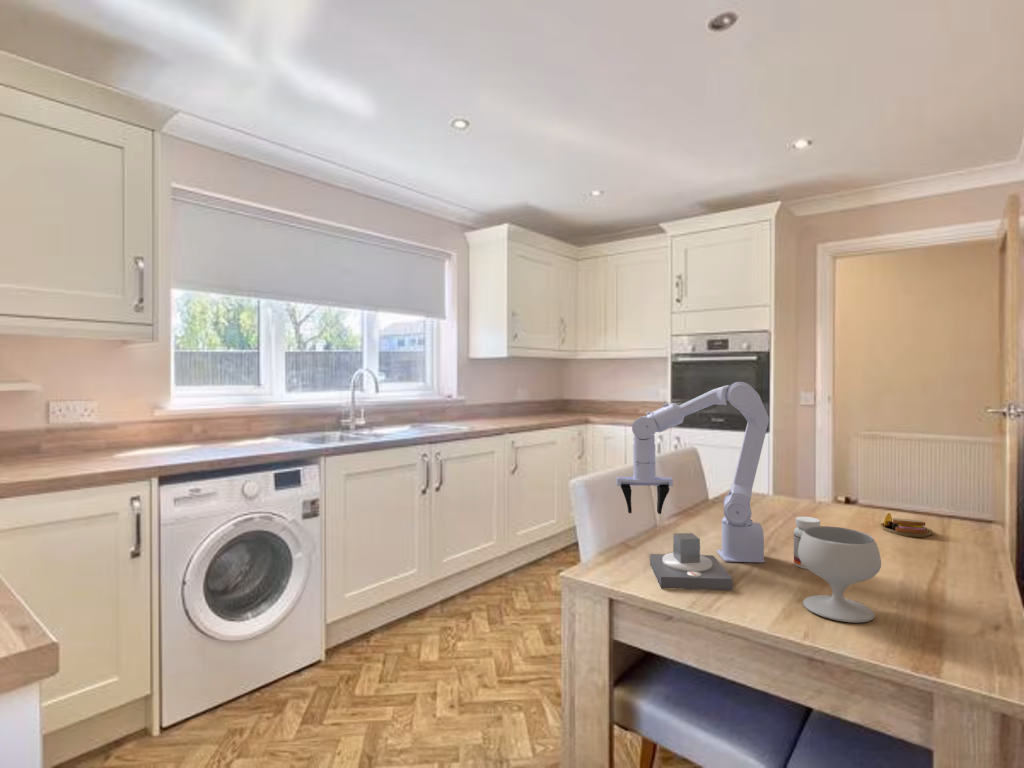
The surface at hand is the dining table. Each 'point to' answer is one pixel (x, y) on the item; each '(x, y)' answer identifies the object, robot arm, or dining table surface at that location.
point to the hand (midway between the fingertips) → (644, 512)
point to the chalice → (839, 569)
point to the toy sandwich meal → (905, 527)
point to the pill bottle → (802, 526)
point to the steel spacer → (686, 548)
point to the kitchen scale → (690, 573)
